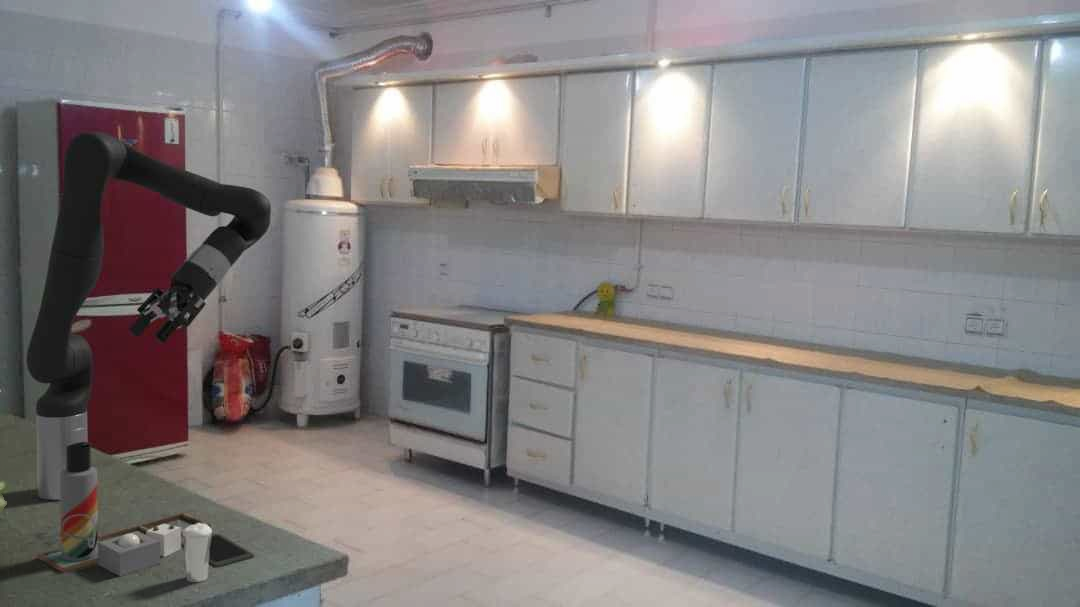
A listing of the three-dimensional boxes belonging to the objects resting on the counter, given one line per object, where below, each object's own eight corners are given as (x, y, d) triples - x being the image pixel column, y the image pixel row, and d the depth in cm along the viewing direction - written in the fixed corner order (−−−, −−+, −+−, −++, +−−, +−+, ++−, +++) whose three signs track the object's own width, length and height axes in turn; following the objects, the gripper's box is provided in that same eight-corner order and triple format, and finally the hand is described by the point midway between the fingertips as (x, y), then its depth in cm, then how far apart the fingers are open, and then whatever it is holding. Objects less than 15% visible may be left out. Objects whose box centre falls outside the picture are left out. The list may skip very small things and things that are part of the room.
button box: (98, 564, 150) (97, 542, 149) (137, 552, 155) (137, 530, 155) (120, 576, 146) (120, 553, 145) (159, 563, 151) (159, 541, 151)
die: (146, 552, 156) (146, 527, 155) (163, 544, 159) (163, 520, 159) (164, 556, 154) (164, 531, 154) (180, 548, 158) (181, 524, 157)
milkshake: (182, 572, 148) (182, 515, 147) (215, 572, 149) (215, 515, 148) (173, 584, 144) (173, 525, 143) (207, 584, 144) (207, 525, 143)
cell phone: (216, 570, 151) (216, 566, 151) (179, 546, 160) (179, 542, 160) (255, 559, 156) (255, 554, 156) (217, 536, 166) (217, 532, 165)
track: (37, 558, 151) (37, 553, 151) (183, 516, 174) (183, 512, 173) (63, 572, 146) (63, 568, 146) (210, 528, 168) (210, 524, 168)
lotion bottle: (82, 563, 149) (81, 449, 147) (53, 559, 150) (51, 445, 148) (105, 551, 155) (104, 440, 153) (77, 547, 156) (75, 437, 154)
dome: (114, 560, 150) (113, 534, 150) (133, 555, 153) (133, 528, 152) (124, 566, 148) (124, 539, 148) (144, 560, 151) (143, 533, 150)
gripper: (167, 257, 172) (110, 319, 164) (211, 262, 164) (153, 328, 156) (192, 282, 177) (137, 344, 169) (235, 289, 169) (180, 355, 161)
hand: (145, 337), depth 163 cm, fingers open, 8 cm apart
